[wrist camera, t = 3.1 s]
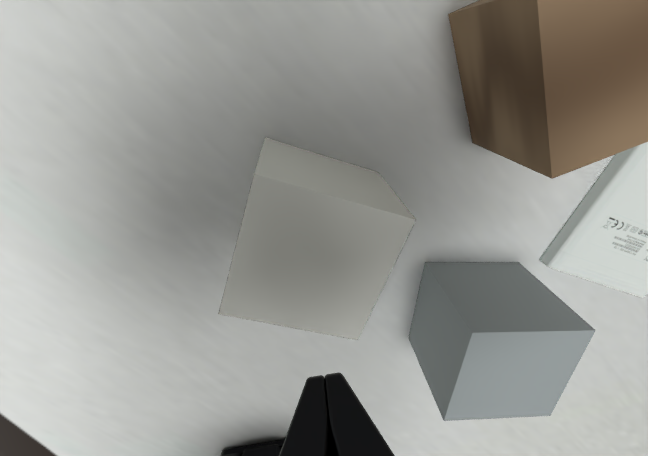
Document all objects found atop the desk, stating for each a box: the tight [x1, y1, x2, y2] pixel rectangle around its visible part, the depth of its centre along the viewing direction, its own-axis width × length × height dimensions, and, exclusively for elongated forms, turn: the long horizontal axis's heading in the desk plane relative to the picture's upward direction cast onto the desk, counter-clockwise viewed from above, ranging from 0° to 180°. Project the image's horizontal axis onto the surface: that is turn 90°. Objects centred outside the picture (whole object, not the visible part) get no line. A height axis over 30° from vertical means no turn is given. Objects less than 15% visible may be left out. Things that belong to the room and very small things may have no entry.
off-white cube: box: [219, 137, 416, 340], centre depth 16 cm, size 6×6×6 cm
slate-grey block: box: [409, 262, 595, 421], centre depth 19 cm, size 6×6×6 cm
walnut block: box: [448, 0, 648, 178], centre depth 13 cm, size 6×6×6 cm
